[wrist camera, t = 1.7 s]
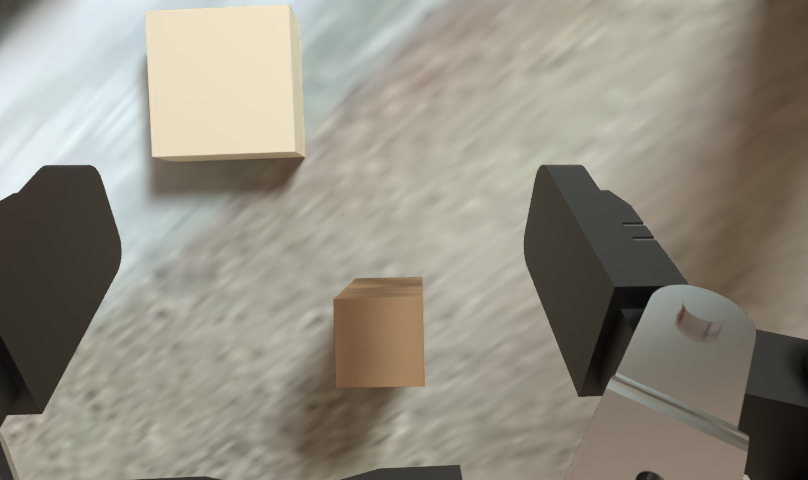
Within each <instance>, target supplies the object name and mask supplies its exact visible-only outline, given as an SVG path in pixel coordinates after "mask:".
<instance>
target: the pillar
mask: <svg viewBox="0 0 808 480" xmlns="http://www.w3.org/2000/svg"><path fill="white" fill-rule="evenodd" d="M333 301H334V337H335V372H336V388H355V387H424V386H425V376H424V331H423V289H422V277H408V278H358V279H355V280H354V281H353V282H352V283H351V284H349V285H348V286H347V287H346V288H345V289H344V290H343V291H342V292H341V293H340V294H339V295H338V296H337V297H336V298H334V299H333Z"/></svg>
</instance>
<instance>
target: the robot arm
mask: <svg viewBox="0 0 808 480" xmlns="http://www.w3.org/2000/svg"><path fill="white" fill-rule="evenodd" d="M653 237H654V236H653V235H652V234H651V232H650V231H649V230H648V228H647V227H646V226H643V221H642V220H641V219H640V217H639V216H638V215H637V213H636V212H635V211H634V209H633V208H632V206H631V205H630V204H628V203H627V202H625V201H624V200H622V199H621V198H619V197H618V196H616V195H615V194H613V193H612V192H610V191H609V190H601V191H600V189H599V188H598V187H597V185H596V184H595V182H594V181H593V179H592V178H591V176H590V175H589V173H588V172H587V170H586V169H585V168H584V166H582V165H541V166H540V167H539V169H538V171H537V174H536V178H535V183H534V188H533V193H532V198H531V203H530V208H529V214H528V219H527V224H526V229H525V235H524V255H525V261H526V265H527V267H528V270H529V272H530V275H531V278H532V280H533V283H534V285H535V288H536V290H537V293H538V295H539V298H540V300H541V303H542V305H543V308H544V310H545V313H546V315H547V318H548V320H549V323H550V325H551V328H552V330H553V333H554V336H555V338H556V341H557V343H558V346H559V348H560V351H561V353H562V356H563V358H564V361H565V363H566V366H567V368H568V371H569V373H570V376H571V378H572V381H573V383H574V386H575V388H576V391H577V394H578V396H579V397H586V396H602V398H601V400H600V402H599V404H598V407H597V409H596V411H595V413H594V415H593V417H592V420H591V422H590V424H589V426H588V428H587V430H586V433H585V435H584V437H583V439H582V441H581V443H580V446H579V448H578V450H577V452H576V454H575V456H574V459H573V461H572V463H571V465H570V467H569V469H568V472H567V474H566V476H565V478H564V480H743V477H744V474H745V475H748V477H749V478H750V480H808V340H805V339H800V338H795V337H790V336H785V335H781V334H776V333H771V332H766V331H761V330H757V329H755V326H754V324H753V322H752V320H751V319H750V317H749V316H748V315H747V313H746V312H745V311H744V310H743V309H742V308H740V307H739V306H738V305H737V304H735V303H734V302H732V301H731V300H729V299H728V298H726V297H724V296H722V295H720V294H718V293H715V292H713V291H710V290H707V289H704V288H701V287H696V286H690V285H689V284H688V283H687V281H686V280H685V279H684V277H683V276H682V274H681V273H680V272H679V270H678V269H677V268H676V266H675V265H674V264H673V262H672V261H671V260H670V258H669V257H668V255H667V254H666V253H665V251H664V250H663V249H662V247H661V246H660V245H659V243H658V242H657V240H653ZM120 262H121V241H120V236H119V233H118V230H117V227H116V223H115V220H114V217H113V214H112V211H111V207H110V204H109V201H108V198H107V195H106V191H105V188H104V185H103V182H102V179H101V176H100V174H99V172H98V171H97V169H96V168H95V167H93V166H91V165H46V166H43V167H42V168H40V169H39V170H38V171H37V173H36V174H35V175H34V176H33V177H32V178H31V179H30V180H29V181H28V182H27V183H26V185H25V186H24V187H23V188H22V189H21V190H20V191H19V192H18V193H13V194H12V195H10V196H8V197H6V198H5V199H3V200H1V201H0V427H1V425H2V423H3V422H4V420H5V418H6V417H7V415H26V414H42V413H43V411H44V409H45V407H46V405H47V403H48V402H49V400H50V398H51V396H52V394H53V392H54V390H55V388H56V387H57V385H58V383H59V381H60V379H61V377H62V375H63V373H64V372H65V370H66V368H67V366H68V364H69V362H70V360H71V358H72V356H73V355H74V353H75V351H76V349H77V347H78V345H79V343H80V341H81V340H82V338H83V336H84V334H85V332H86V330H87V328H88V326H89V324H90V323H91V321H92V319H93V317H94V315H95V313H96V311H97V309H98V308H99V306H100V304H101V302H102V300H103V298H104V296H105V294H106V293H107V291H108V289H109V287H110V285H111V283H112V281H113V279H114V277H115V276H116V274H117V272H118V269H119V266H120ZM0 480H20V479H19V477H18V474H17V471H16V468H15V466H14V463H13V460H12V458H11V455H10V452H9V449H8V447H7V444H6V441H5V440H4V438H3V436H2V435H1V433H0ZM137 480H220V479H215V478H210V477H206V476H204V477H181V478H159V479H137ZM342 480H462V475H461V469H460V465H449V466H427V467H405V468H382V469H376V470H373V471H369V472H366V473H362V474H359V475H355V476H352V477H348V478H345V479H342Z"/></svg>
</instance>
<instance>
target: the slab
mask: <svg viewBox="0 0 808 480" xmlns="http://www.w3.org/2000/svg"><path fill="white" fill-rule="evenodd" d="M145 26H146V46H147V66H148V86H149V106H150V125H151V145H152V157H154V158H159V159H163V160H167V161H172V162H186V161H212V160H238V159H265V158H291V157H305V136H304V112H303V88H302V63H301V39H300V21H299V20H298V18H297V17H296V15H295V13H294V12H293V10H292V8H291V7H290V5H289V4H286V5H265V6H243V7H222V8H200V9H179V10H157V11H145Z"/></svg>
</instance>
